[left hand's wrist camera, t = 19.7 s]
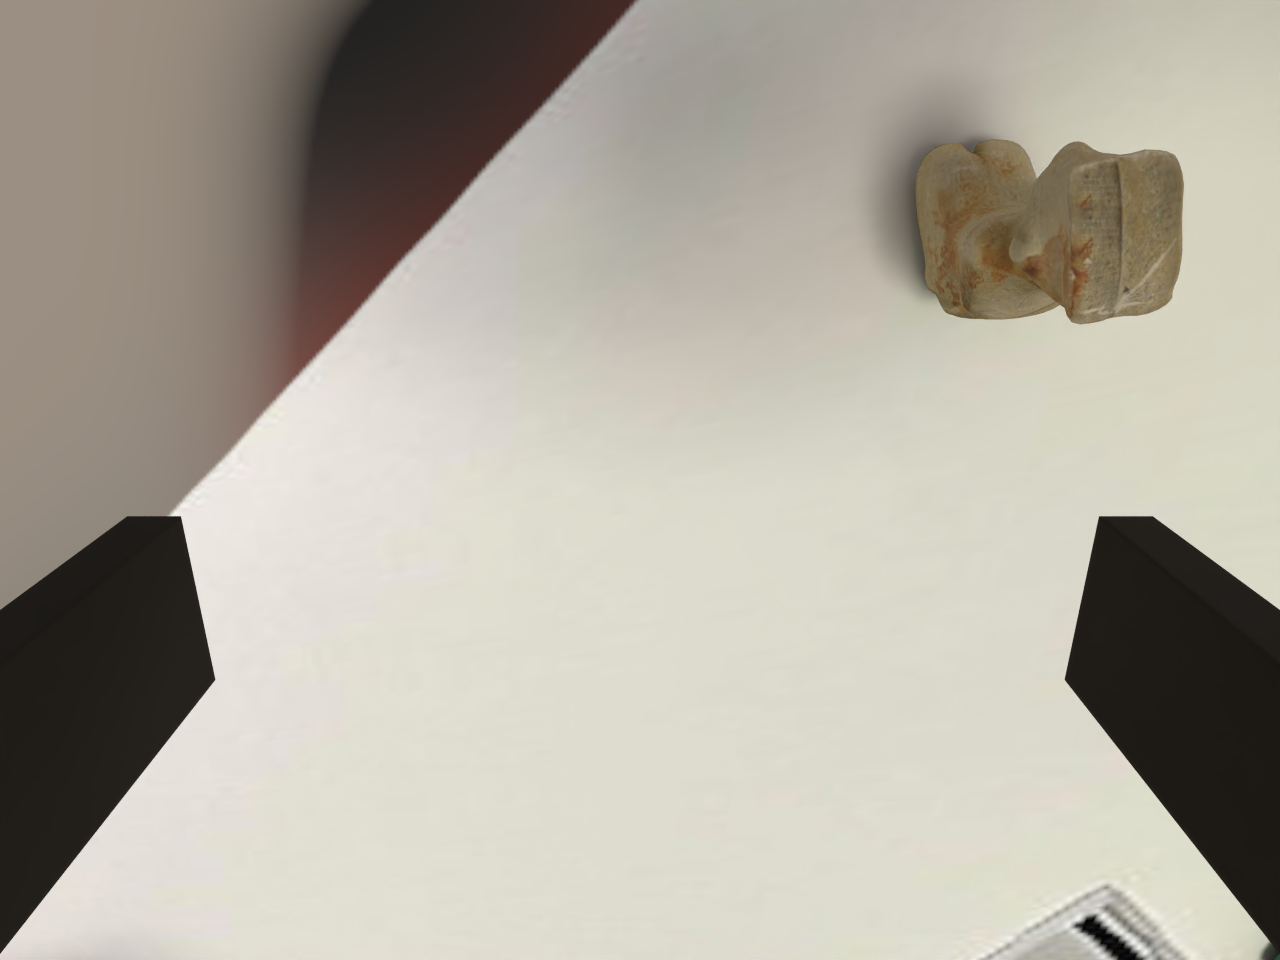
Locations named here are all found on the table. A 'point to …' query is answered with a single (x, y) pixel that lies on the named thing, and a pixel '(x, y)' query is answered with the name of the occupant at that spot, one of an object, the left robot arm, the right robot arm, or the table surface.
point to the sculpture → (1050, 231)
